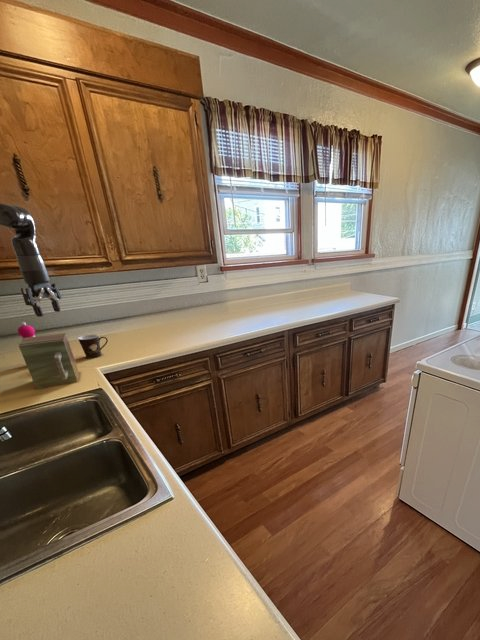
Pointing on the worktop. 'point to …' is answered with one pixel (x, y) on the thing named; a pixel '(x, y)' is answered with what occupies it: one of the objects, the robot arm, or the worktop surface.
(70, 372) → the cupboard door
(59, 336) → the cupboard
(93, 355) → the coffee mug
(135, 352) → the worktop surface
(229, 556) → the worktop surface
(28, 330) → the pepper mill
